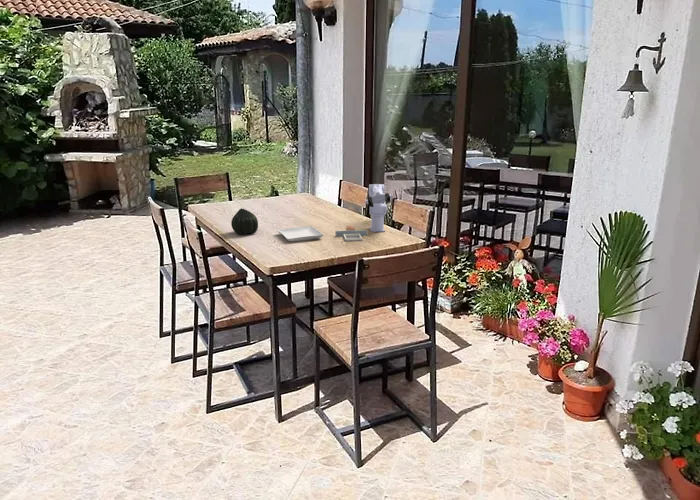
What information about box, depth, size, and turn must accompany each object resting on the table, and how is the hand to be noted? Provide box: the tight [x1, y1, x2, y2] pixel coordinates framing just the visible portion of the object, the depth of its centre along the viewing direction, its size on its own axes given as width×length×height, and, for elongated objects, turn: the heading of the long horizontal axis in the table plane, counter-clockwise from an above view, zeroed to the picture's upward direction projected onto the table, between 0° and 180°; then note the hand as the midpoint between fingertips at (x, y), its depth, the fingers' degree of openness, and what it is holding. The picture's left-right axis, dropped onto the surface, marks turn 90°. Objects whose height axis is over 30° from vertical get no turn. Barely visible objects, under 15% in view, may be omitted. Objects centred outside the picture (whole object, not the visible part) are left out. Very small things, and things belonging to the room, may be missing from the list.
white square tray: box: [342, 234, 364, 242], centre depth 299 cm, size 10×10×2 cm
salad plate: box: [276, 225, 324, 242], centre depth 302 cm, size 21×21×3 cm
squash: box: [230, 208, 259, 236], centre depth 307 cm, size 14×15×15 cm
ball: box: [345, 224, 356, 231], centre depth 309 cm, size 5×5×5 cm
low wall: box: [335, 229, 368, 237], centre depth 304 cm, size 1×18×3 cm, turn 97°
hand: (379, 203), depth 292 cm, fingers open, 7 cm apart
